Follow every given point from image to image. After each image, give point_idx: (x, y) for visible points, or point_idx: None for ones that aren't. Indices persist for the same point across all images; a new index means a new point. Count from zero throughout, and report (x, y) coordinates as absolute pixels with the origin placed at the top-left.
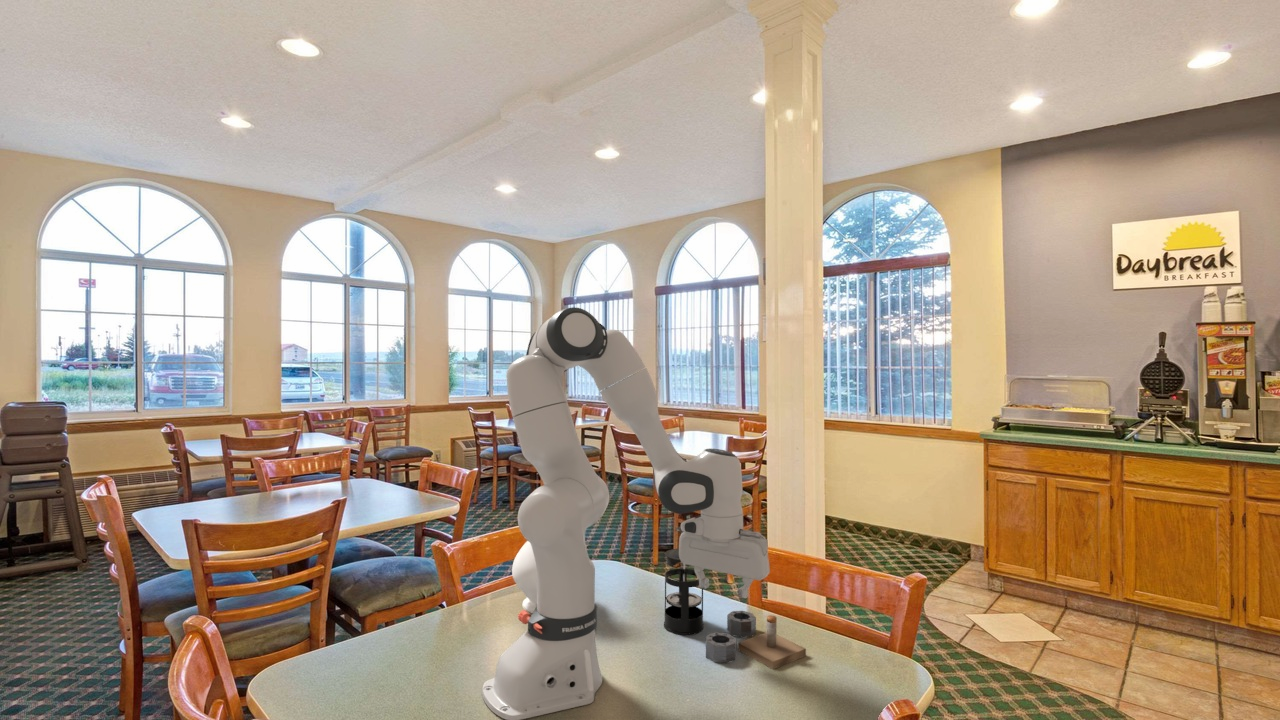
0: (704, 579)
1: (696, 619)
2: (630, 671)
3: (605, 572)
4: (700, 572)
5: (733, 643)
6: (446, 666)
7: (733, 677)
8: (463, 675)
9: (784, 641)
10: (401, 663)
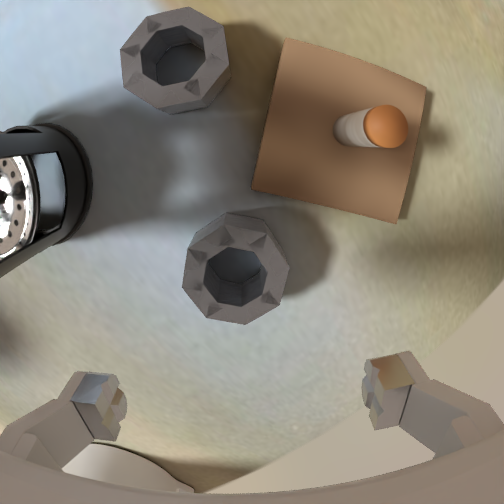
0: (93, 425)
1: (69, 198)
2: (149, 425)
3: None
4: (52, 447)
5: (286, 273)
6: None
7: (326, 322)
8: None
9: (362, 77)
10: None
